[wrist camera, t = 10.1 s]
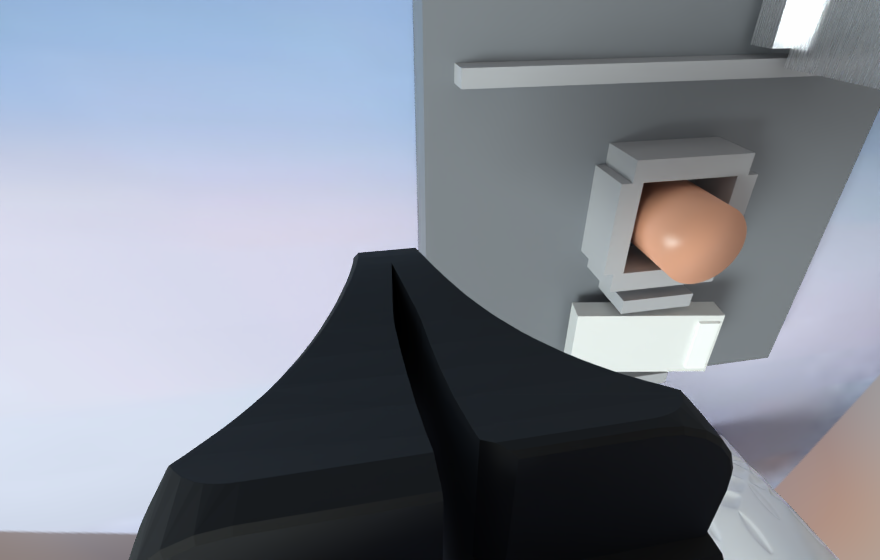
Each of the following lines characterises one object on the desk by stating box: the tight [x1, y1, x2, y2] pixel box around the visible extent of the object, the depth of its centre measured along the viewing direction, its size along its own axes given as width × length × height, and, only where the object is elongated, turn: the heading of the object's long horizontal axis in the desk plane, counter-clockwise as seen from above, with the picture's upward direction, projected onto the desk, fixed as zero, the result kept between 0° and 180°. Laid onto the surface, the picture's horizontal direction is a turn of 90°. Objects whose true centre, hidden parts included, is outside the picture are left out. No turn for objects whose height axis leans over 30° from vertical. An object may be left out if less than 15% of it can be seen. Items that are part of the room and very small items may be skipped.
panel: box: [413, 0, 880, 384], centre depth 20 cm, size 19×18×4 cm
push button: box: [631, 180, 747, 284], centre depth 18 cm, size 3×3×3 cm
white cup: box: [707, 435, 839, 560], centre depth 29 cm, size 8×8×10 cm
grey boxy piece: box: [750, 0, 880, 89], centre depth 15 cm, size 4×2×5 cm, turn 0°
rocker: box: [564, 302, 725, 372], centre depth 22 cm, size 3×6×1 cm, turn 90°
